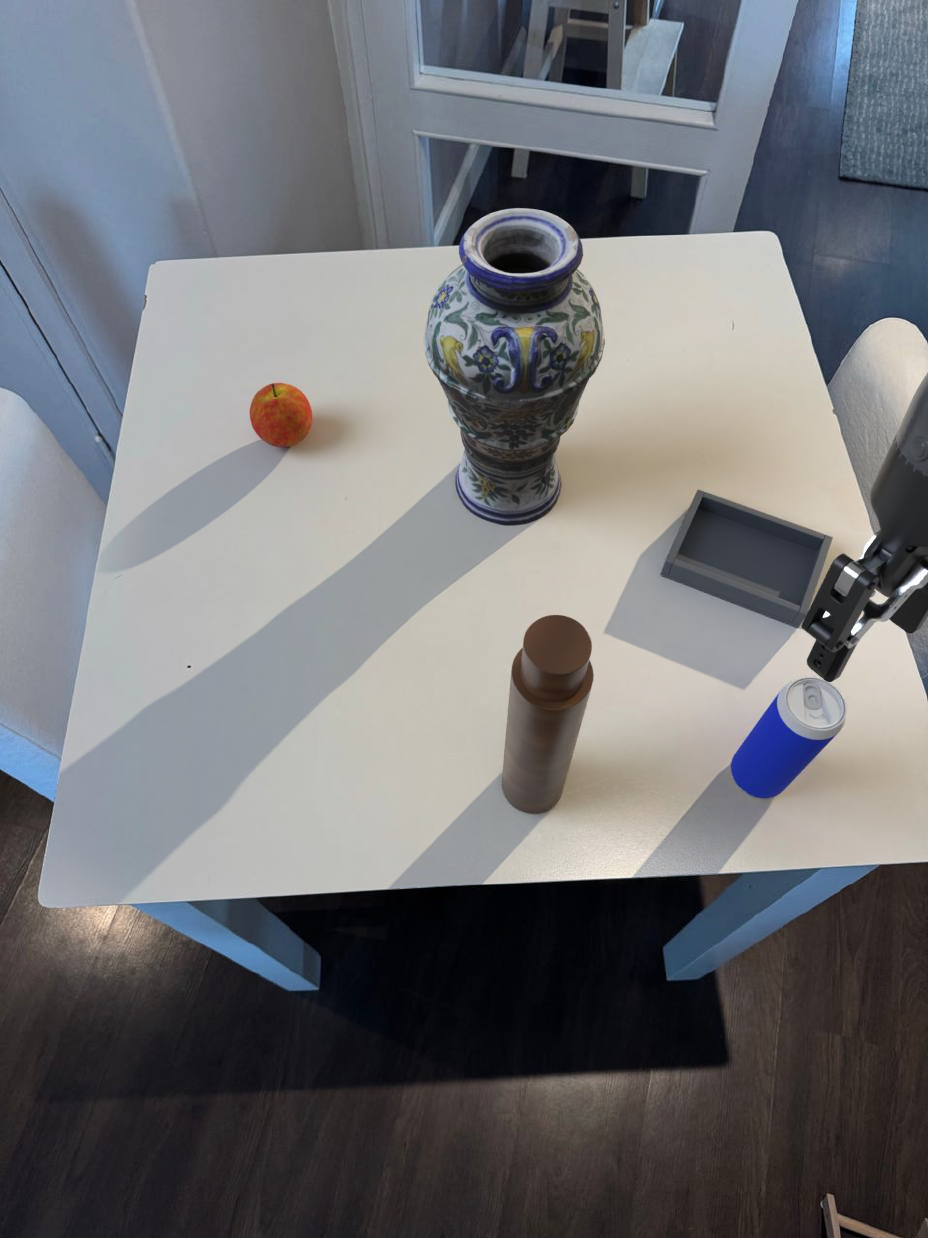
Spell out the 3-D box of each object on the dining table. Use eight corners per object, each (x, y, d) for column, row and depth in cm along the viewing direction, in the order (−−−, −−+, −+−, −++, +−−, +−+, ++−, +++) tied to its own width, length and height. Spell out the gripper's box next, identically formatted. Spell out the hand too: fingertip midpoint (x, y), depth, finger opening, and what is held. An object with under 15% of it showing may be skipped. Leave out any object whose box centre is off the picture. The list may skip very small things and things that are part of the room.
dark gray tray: (824, 551, 89) (833, 536, 87) (798, 628, 84) (806, 615, 82) (692, 503, 92) (697, 488, 90) (659, 575, 87) (664, 561, 85)
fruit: (321, 453, 97) (309, 402, 90) (261, 464, 96) (245, 414, 89) (311, 410, 100) (300, 358, 93) (253, 421, 99) (237, 369, 92)
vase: (433, 547, 90) (417, 316, 64) (432, 428, 98) (417, 183, 73) (588, 543, 90) (634, 310, 64) (573, 424, 99) (608, 178, 73)
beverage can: (791, 801, 75) (857, 735, 62) (733, 800, 75) (787, 734, 62) (780, 747, 77) (842, 673, 65) (725, 746, 78) (775, 672, 65)
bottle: (572, 770, 76) (614, 626, 54) (548, 824, 74) (581, 696, 52) (517, 745, 78) (535, 594, 55) (491, 797, 75) (499, 661, 53)
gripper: (951, 527, 41) (837, 729, 52) (1106, 443, 47) (973, 642, 58) (829, 452, 45) (749, 653, 57) (985, 383, 51) (883, 579, 62)
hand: (862, 647), depth 57 cm, fingers open, 8 cm apart
